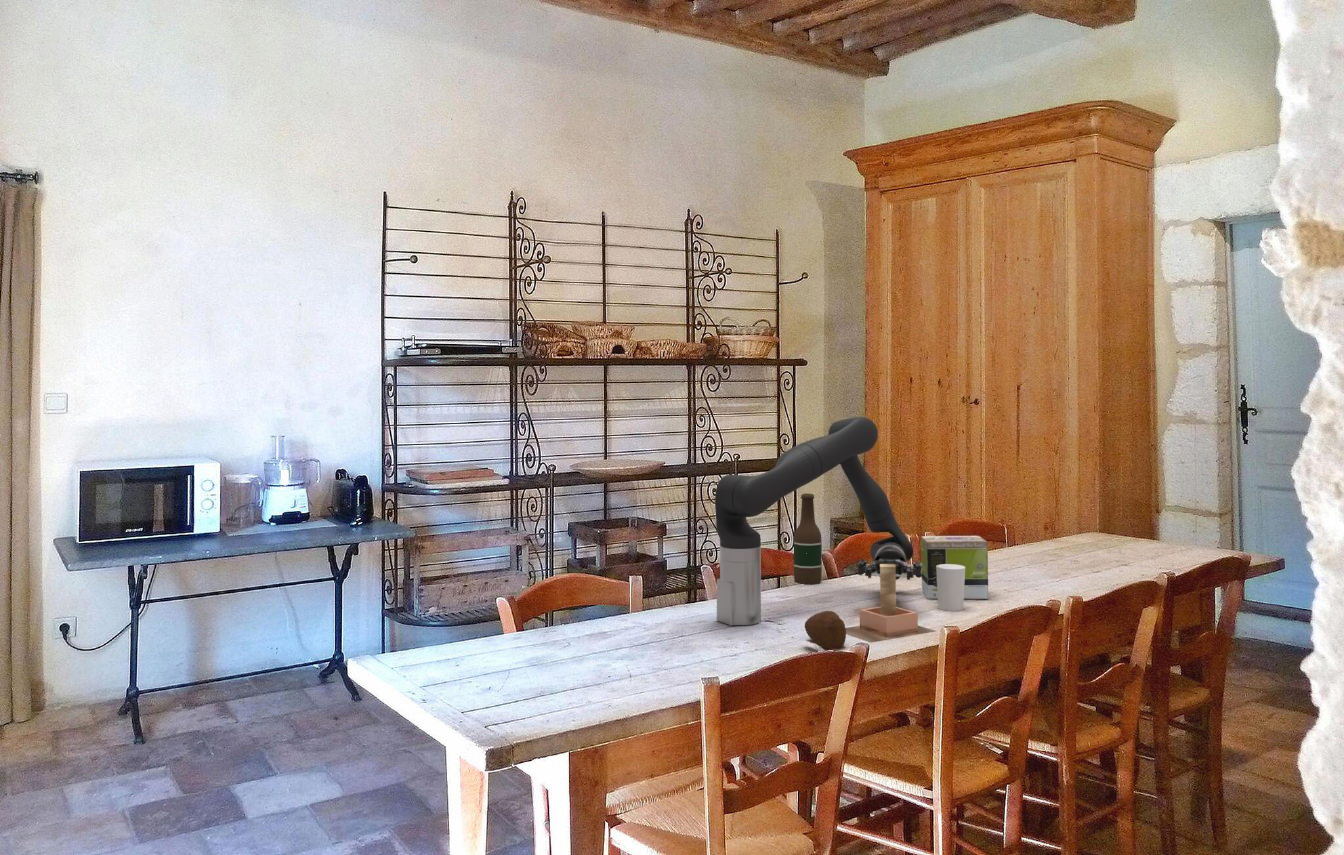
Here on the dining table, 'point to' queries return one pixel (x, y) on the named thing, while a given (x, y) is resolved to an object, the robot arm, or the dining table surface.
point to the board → (874, 637)
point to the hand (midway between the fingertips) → (889, 574)
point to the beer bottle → (807, 545)
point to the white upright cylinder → (950, 586)
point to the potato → (826, 630)
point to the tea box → (956, 552)
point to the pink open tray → (889, 621)
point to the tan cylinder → (888, 589)
